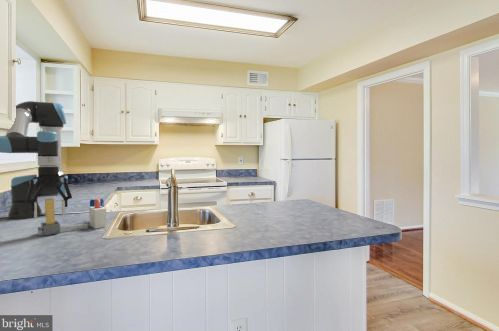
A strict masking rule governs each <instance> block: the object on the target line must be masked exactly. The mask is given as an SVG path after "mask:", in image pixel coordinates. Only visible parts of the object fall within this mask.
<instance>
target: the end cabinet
mask: <svg viewBox="0 0 499 331" xmlns="http://www.w3.org/2000/svg"><path fill="white" fill-rule="evenodd" d="M88 210H89V211H88V212H89V214H88V215H89V216H88V217H89V226H90V227H92V228H94V229H103V228H107V208H106V207H105V206H104V207H102V206H100V208H97V209H95V207H90V206H89V207H88Z"/></svg>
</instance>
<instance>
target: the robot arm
mask: <svg viewBox="0 0 499 331" xmlns="http://www.w3.org/2000/svg"><path fill="white" fill-rule="evenodd" d="M15 106H16V118H15V121H14V124H13V125H12V127H11V128H10V129H9V130H6V134H5V135H0V153H3V154H37V166H38V167H37V174H35V173H34V174H27V175H20V176H15V177H13V178H11V179H10V180H11V181H10V188H11V189H10V190H11V205H10V207H9V211H8V215H7V216H8V219H10V220H20V219H31V218H34V219H38V217H39V216H42V215H43V214H42V212H43V211H42V209H41V206H40V204H39V201H38V198H42V197H58V196H61V197H62V199H61V214H62V216H66V208H67V207H68V205H69V204H68V200H70V199H71V200H72V198H73V196H72V193H71V190H70V187H69V184H68V178H69V176H68V175H66V173H65V171H63V169H62V168H63V167H62V139H61V138H62V137H61V136H62V135H61V130H62V129H63V128H64V125H66V124H67V121H66V114H65V110H64V105H63V104H61V103H57V102H45V101H32V100H30V101H24V102H21V103H18V104H16V105H15ZM31 123H33V124H34V123H35V124H38V127H39V128H40V129H41V130H40V131H37V133H36V136H27V135H28V131H29V130H28V129H29V124H31ZM66 195H67V196H66Z"/></svg>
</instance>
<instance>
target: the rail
mask: <svg viewBox="0 0 499 331" xmlns="http://www.w3.org/2000/svg"><path fill="white" fill-rule="evenodd" d="M84 229H85V230H86V229H88V221H87V220H83V222H82V223H78V224H69V225H63V226H61V225H60V233H65V232H72V231H79V230H84ZM37 236H39V237H40V236H41V237H42V236H44V235H43V229H41V226H40V227H37Z"/></svg>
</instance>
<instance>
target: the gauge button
mask: <svg viewBox="0 0 499 331" xmlns="http://www.w3.org/2000/svg"><path fill="white" fill-rule="evenodd" d="M94 207H95V209H97V208H100V199H95V200H94Z"/></svg>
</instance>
